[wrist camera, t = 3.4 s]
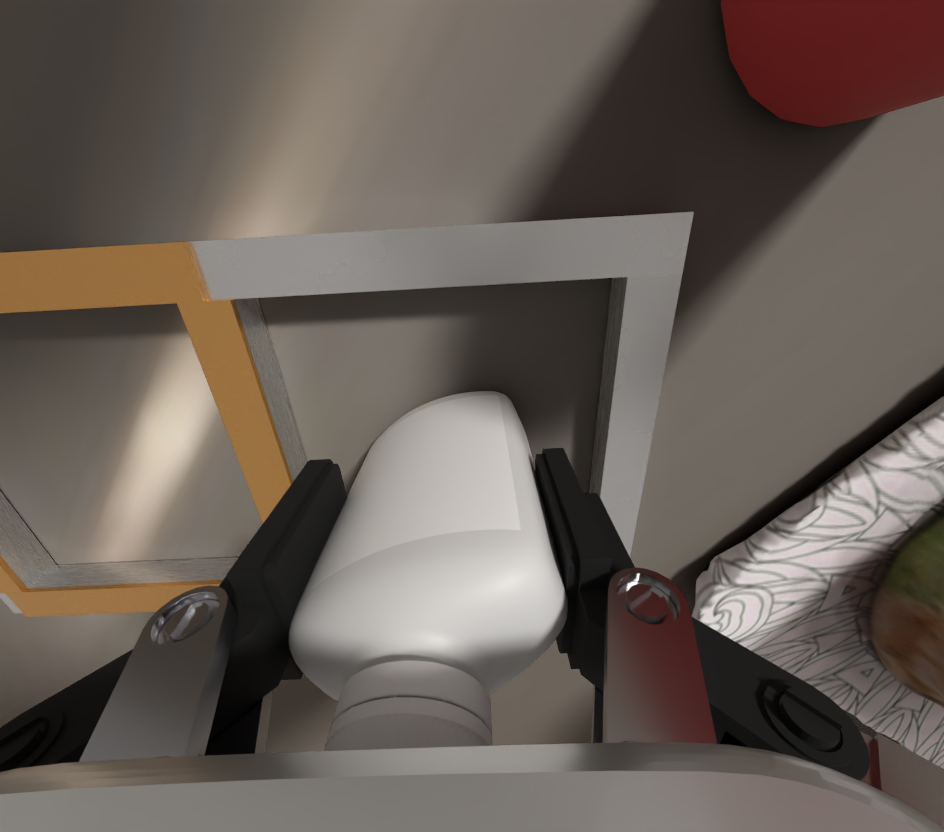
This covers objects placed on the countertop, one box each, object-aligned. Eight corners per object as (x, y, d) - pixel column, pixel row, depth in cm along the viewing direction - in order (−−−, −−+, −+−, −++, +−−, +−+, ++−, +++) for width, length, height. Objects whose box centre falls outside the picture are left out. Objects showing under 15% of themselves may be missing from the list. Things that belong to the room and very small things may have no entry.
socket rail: (-220, 267, 11) (-309, 271, 10) (670, 213, 11) (698, 211, 9) (43, 589, 17) (9, 617, 16) (614, 565, 17) (626, 592, 15)
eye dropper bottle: (369, 378, 13) (-209, 1177, 2) (530, 390, 13) (831, 1176, 2) (374, 481, 15) (99, 1173, 4) (514, 490, 15) (630, 1173, 4)
